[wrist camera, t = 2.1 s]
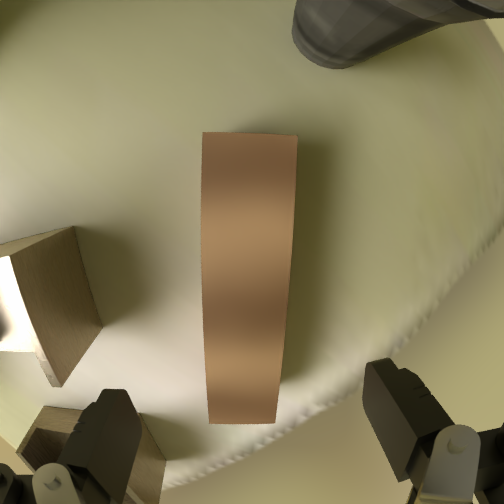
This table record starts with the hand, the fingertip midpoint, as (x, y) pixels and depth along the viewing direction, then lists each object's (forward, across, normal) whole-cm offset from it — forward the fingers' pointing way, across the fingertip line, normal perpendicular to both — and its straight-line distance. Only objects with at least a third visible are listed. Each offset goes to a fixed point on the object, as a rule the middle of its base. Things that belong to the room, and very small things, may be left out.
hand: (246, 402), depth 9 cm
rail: (+10, 0, -1) cm, 10 cm away
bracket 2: (+9, +15, +13) cm, 22 cm away
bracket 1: (+9, +15, -2) cm, 18 cm away
